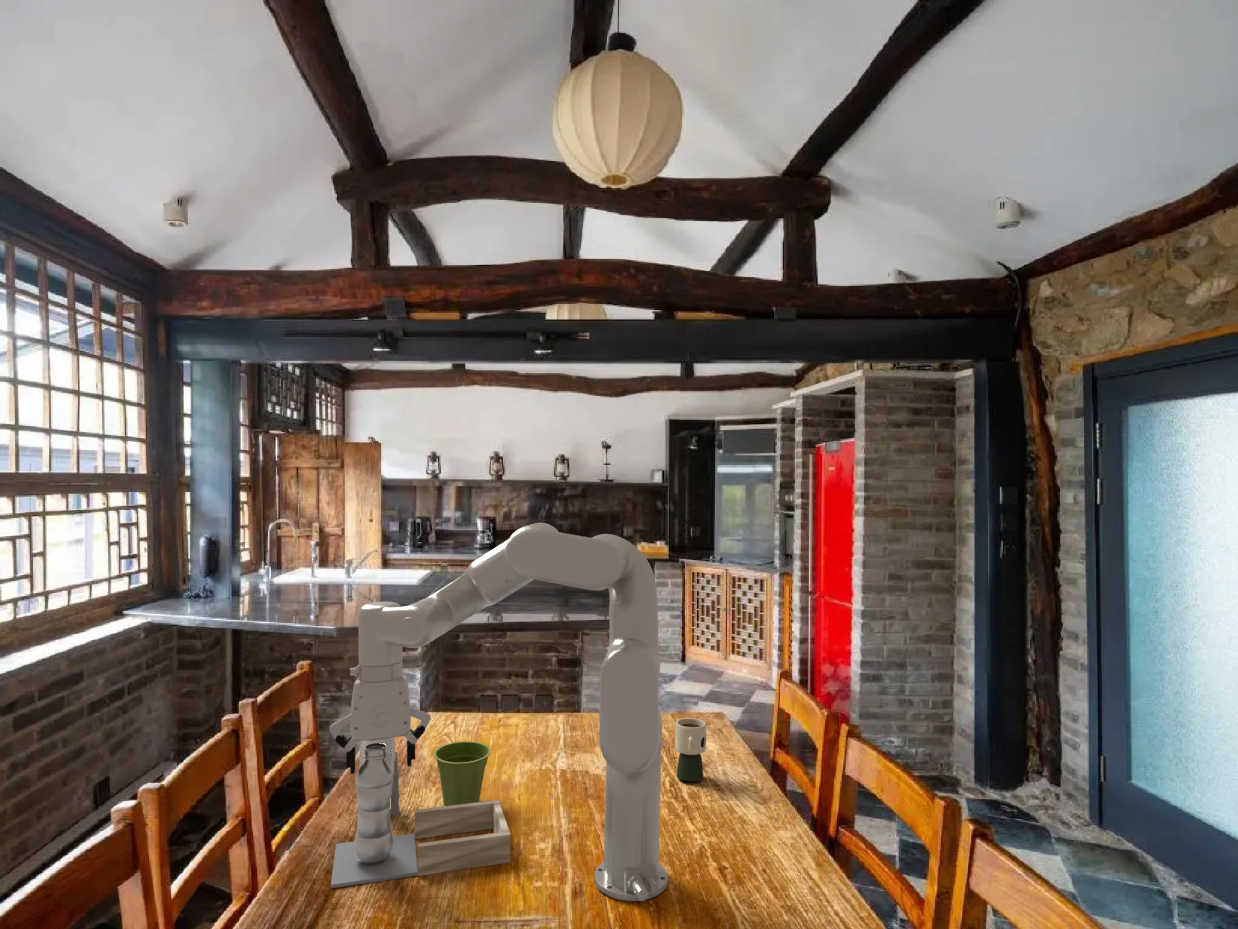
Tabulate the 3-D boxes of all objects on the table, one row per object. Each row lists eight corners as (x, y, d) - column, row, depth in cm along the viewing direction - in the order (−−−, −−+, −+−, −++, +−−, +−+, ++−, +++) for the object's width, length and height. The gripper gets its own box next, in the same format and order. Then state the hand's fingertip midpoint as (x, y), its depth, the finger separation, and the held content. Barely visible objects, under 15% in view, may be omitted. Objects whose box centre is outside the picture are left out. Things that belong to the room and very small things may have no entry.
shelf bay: (509, 862, 129) (510, 834, 129) (417, 876, 124) (418, 847, 124) (497, 825, 143) (498, 799, 143) (414, 836, 138) (414, 810, 138)
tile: (417, 875, 124) (417, 872, 124) (330, 888, 120) (330, 885, 120) (414, 836, 137) (414, 833, 137) (336, 847, 133) (336, 843, 133)
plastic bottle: (381, 871, 124) (383, 754, 125) (345, 866, 125) (348, 751, 126) (399, 852, 130) (401, 741, 131) (365, 847, 132) (368, 738, 132)
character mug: (706, 790, 160) (707, 731, 161) (674, 788, 161) (675, 730, 161) (704, 770, 171) (705, 715, 172) (674, 768, 172) (675, 714, 172)
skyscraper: (356, 822, 143) (359, 681, 144) (353, 805, 150) (357, 671, 151) (399, 815, 146) (403, 678, 147) (395, 799, 154) (398, 668, 154)
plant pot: (420, 812, 147) (422, 757, 148) (453, 789, 159) (454, 738, 159) (470, 822, 143) (471, 766, 144) (500, 798, 154) (501, 745, 155)
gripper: (327, 682, 123) (328, 783, 122) (431, 672, 128) (432, 769, 128) (330, 671, 130) (331, 766, 130) (429, 662, 135) (429, 753, 135)
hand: (381, 767), depth 129 cm, fingers open, 9 cm apart
